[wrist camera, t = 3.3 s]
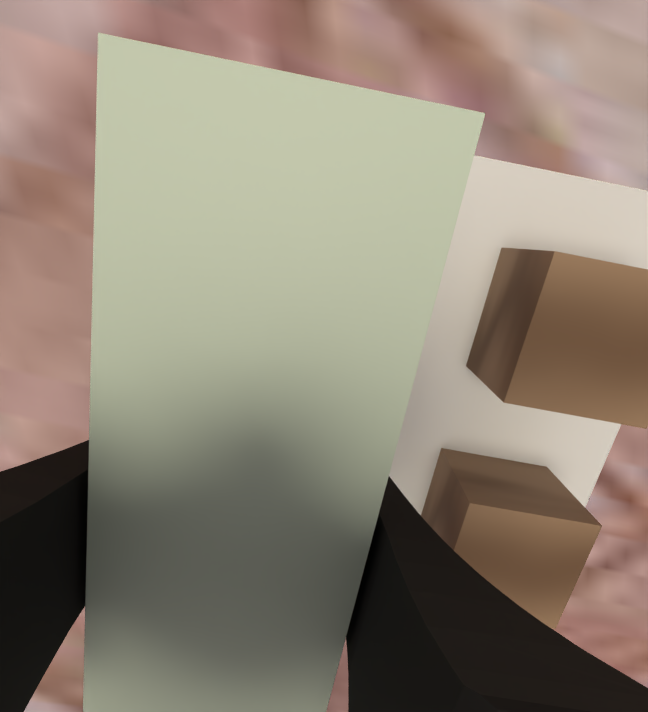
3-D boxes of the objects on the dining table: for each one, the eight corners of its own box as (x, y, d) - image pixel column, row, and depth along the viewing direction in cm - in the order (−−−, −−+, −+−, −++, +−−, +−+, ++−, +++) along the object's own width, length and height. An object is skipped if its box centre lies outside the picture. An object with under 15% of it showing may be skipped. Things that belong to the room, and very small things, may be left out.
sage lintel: (303, 648, 15) (289, 851, 10) (163, 626, 14) (80, 821, 10) (412, 171, 10) (485, 112, 5) (211, 130, 10) (97, 32, 5)
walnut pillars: (512, 554, 20) (555, 628, 16) (414, 537, 20) (434, 608, 16) (622, 271, 16) (713, 282, 12) (501, 247, 16) (554, 251, 12)
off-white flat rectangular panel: (533, 595, 22) (541, 608, 21) (351, 565, 22) (352, 577, 21) (698, 206, 16) (716, 205, 15) (454, 156, 16) (461, 152, 15)
